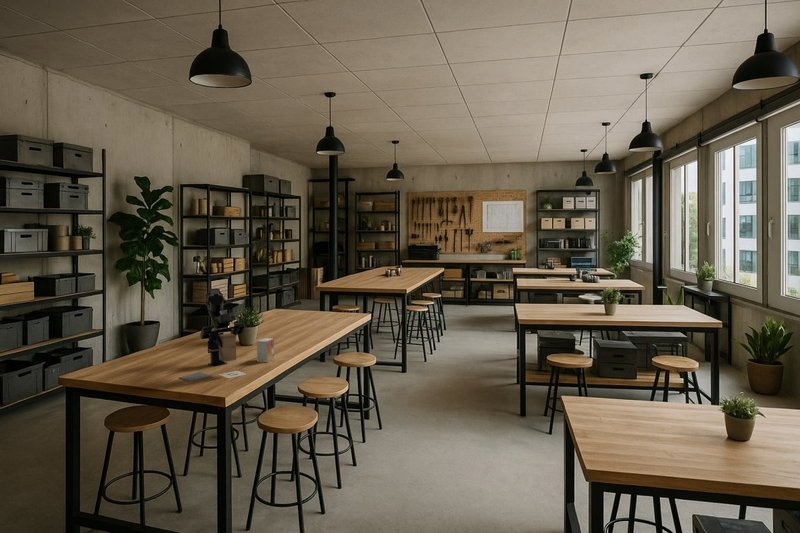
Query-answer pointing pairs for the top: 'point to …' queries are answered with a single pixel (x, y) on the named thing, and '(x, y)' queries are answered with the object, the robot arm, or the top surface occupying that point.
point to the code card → (232, 374)
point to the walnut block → (227, 347)
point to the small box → (265, 350)
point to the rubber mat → (195, 377)
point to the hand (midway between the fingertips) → (228, 345)
